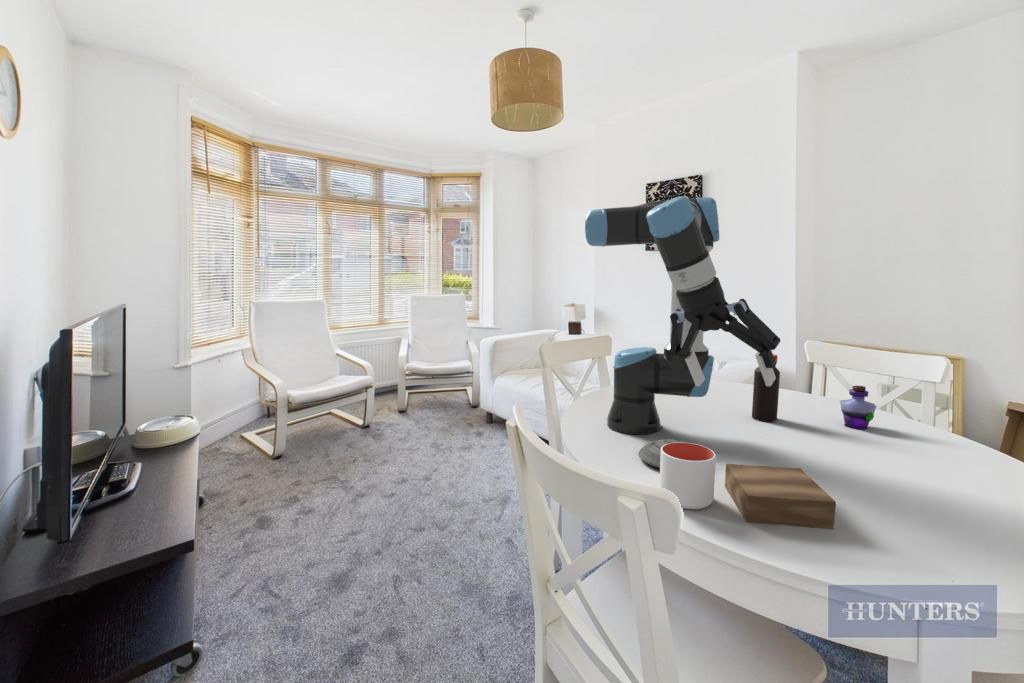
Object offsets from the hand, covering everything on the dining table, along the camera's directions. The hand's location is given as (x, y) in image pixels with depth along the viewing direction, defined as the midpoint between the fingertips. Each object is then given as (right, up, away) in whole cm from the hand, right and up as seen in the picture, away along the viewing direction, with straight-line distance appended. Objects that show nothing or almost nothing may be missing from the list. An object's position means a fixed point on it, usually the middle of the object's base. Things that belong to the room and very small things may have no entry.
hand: (733, 382), depth 85 cm
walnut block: (+8, -24, 0) cm, 25 cm away
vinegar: (+35, -16, +52) cm, 65 cm away
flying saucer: (-4, -21, +21) cm, 30 cm away
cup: (-8, -24, +3) cm, 25 cm away
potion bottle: (+57, -17, +44) cm, 74 cm away
